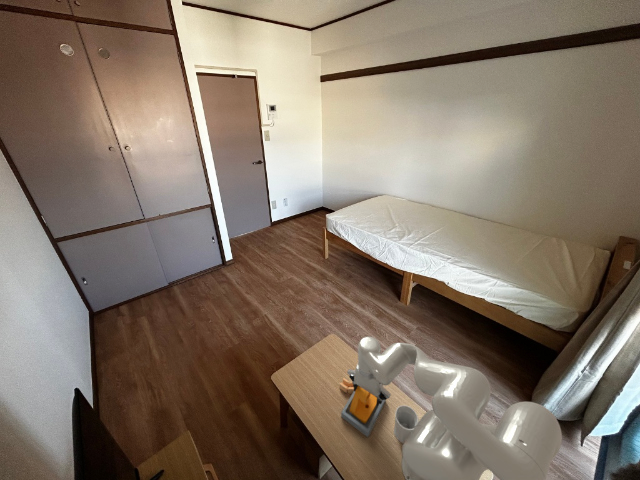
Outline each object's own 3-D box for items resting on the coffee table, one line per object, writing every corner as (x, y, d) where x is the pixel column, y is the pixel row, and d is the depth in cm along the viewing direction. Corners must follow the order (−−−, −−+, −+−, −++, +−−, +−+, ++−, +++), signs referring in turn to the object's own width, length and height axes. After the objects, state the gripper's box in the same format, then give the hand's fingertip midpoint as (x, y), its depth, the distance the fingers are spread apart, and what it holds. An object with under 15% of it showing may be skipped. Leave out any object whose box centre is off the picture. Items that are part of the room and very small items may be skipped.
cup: (388, 435, 94) (391, 419, 88) (396, 416, 100) (400, 400, 94) (409, 451, 90) (414, 435, 84) (416, 430, 95) (421, 414, 89)
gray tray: (385, 401, 105) (386, 396, 103) (368, 437, 94) (368, 433, 92) (360, 384, 111) (360, 380, 109) (341, 416, 100) (341, 412, 98)
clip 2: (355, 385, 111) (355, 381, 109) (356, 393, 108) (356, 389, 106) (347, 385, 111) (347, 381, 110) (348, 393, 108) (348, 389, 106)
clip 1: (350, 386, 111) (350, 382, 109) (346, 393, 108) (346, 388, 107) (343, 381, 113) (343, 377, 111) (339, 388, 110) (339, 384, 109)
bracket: (365, 425, 96) (367, 410, 90) (349, 412, 100) (350, 396, 94) (378, 402, 103) (381, 386, 97) (363, 391, 107) (365, 375, 101)
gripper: (396, 371, 86) (392, 400, 94) (352, 348, 95) (352, 375, 103) (387, 389, 81) (384, 418, 89) (342, 362, 90) (343, 390, 98)
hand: (367, 395), depth 96 cm, fingers open, 9 cm apart
